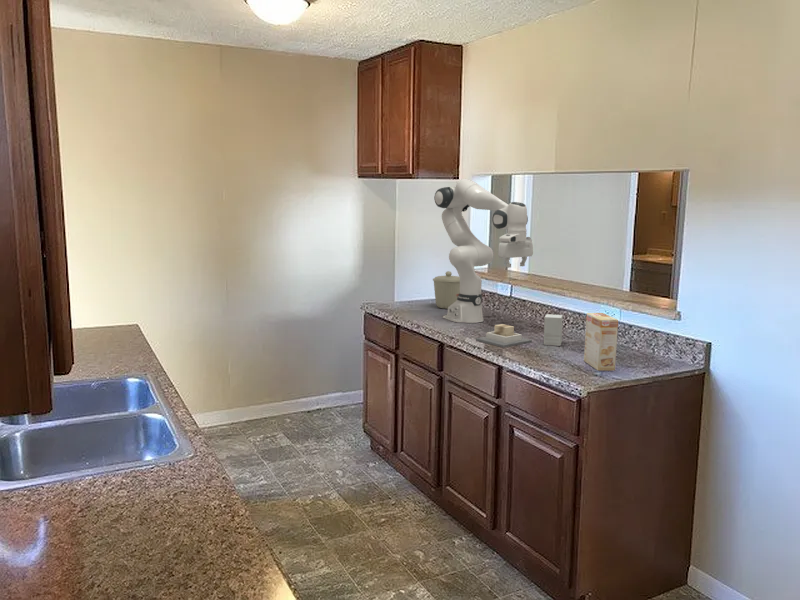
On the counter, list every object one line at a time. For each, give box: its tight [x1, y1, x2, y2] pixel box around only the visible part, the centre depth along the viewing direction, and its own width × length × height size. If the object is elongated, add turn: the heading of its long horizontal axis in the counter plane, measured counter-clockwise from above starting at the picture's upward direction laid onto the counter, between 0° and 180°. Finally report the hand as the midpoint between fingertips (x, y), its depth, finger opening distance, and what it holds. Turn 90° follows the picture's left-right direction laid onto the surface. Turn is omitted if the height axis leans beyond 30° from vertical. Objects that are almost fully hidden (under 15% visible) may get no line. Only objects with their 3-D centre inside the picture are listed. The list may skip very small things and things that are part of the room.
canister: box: [432, 270, 460, 310], centre depth 378 cm, size 18×18×21 cm
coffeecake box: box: [583, 312, 619, 372], centre depth 252 cm, size 15×7×20 cm, turn 5°
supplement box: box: [543, 313, 564, 347], centre depth 289 cm, size 7×7×13 cm
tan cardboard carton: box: [494, 323, 515, 337], centre depth 294 cm, size 7×5×6 cm
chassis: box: [475, 331, 533, 348], centre depth 294 cm, size 17×18×4 cm
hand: (515, 266), depth 310 cm, fingers open, 8 cm apart
